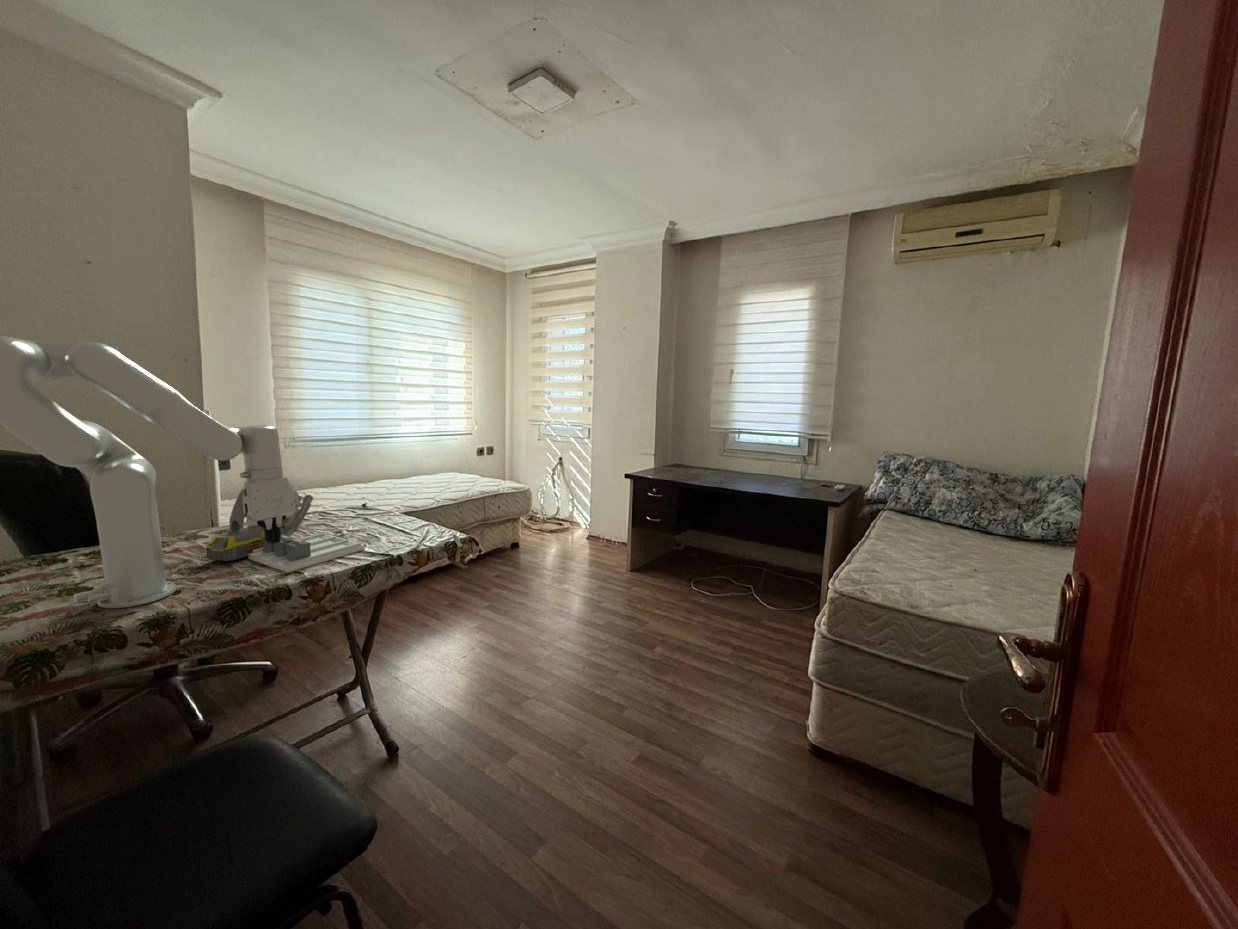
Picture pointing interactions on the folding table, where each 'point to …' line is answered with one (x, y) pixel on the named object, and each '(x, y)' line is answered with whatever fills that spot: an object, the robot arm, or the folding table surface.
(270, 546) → the tab far
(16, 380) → the robot arm
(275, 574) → the folding table surface
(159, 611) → the folding table surface
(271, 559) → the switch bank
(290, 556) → the tab near
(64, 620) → the folding table surface
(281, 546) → the tab mid
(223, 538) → the circular saw
